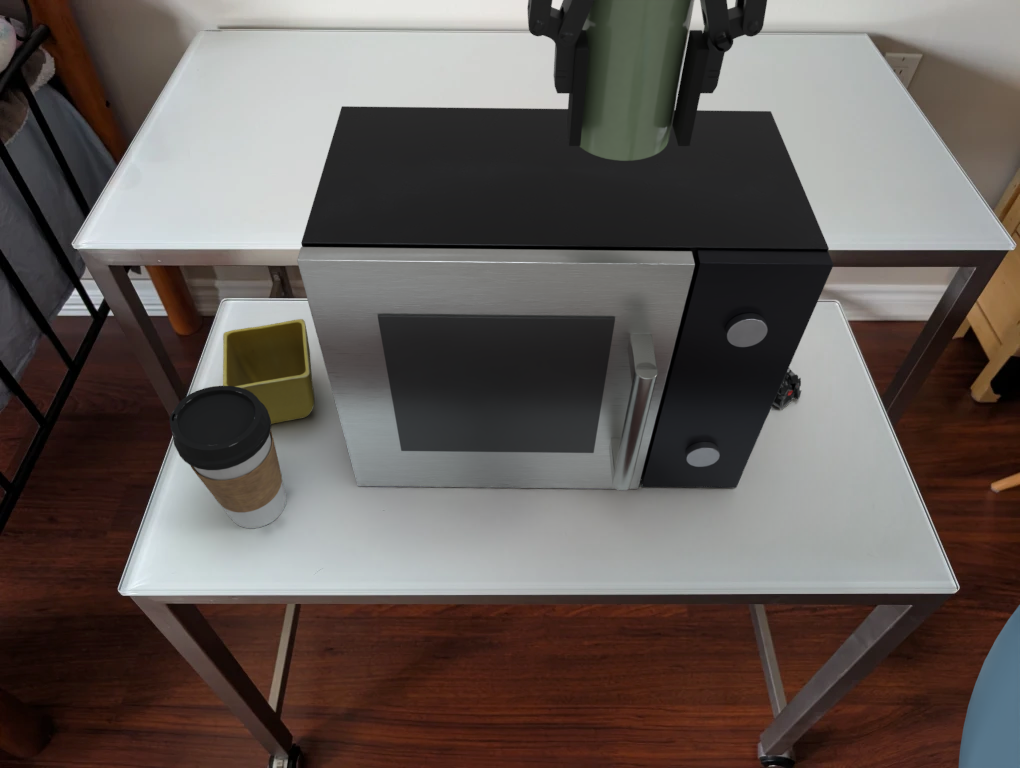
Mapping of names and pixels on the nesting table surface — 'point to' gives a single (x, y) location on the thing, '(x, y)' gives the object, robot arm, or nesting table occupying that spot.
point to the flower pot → (272, 367)
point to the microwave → (609, 240)
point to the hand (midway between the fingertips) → (627, 134)
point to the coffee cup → (231, 452)
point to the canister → (633, 75)
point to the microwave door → (496, 361)
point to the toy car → (788, 389)
